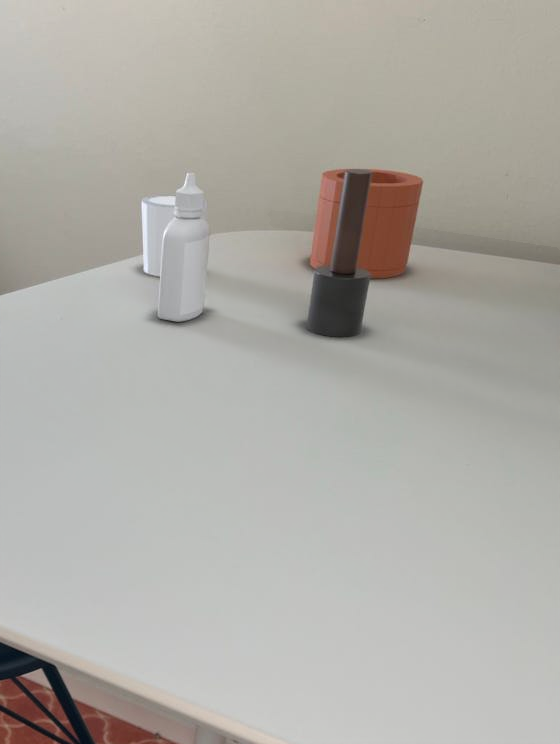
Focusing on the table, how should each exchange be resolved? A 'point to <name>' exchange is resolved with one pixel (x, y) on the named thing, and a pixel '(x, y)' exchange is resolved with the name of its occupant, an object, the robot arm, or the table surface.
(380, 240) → the jar
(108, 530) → the table surface
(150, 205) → the white cup
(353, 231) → the brush
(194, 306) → the eye dropper bottle
